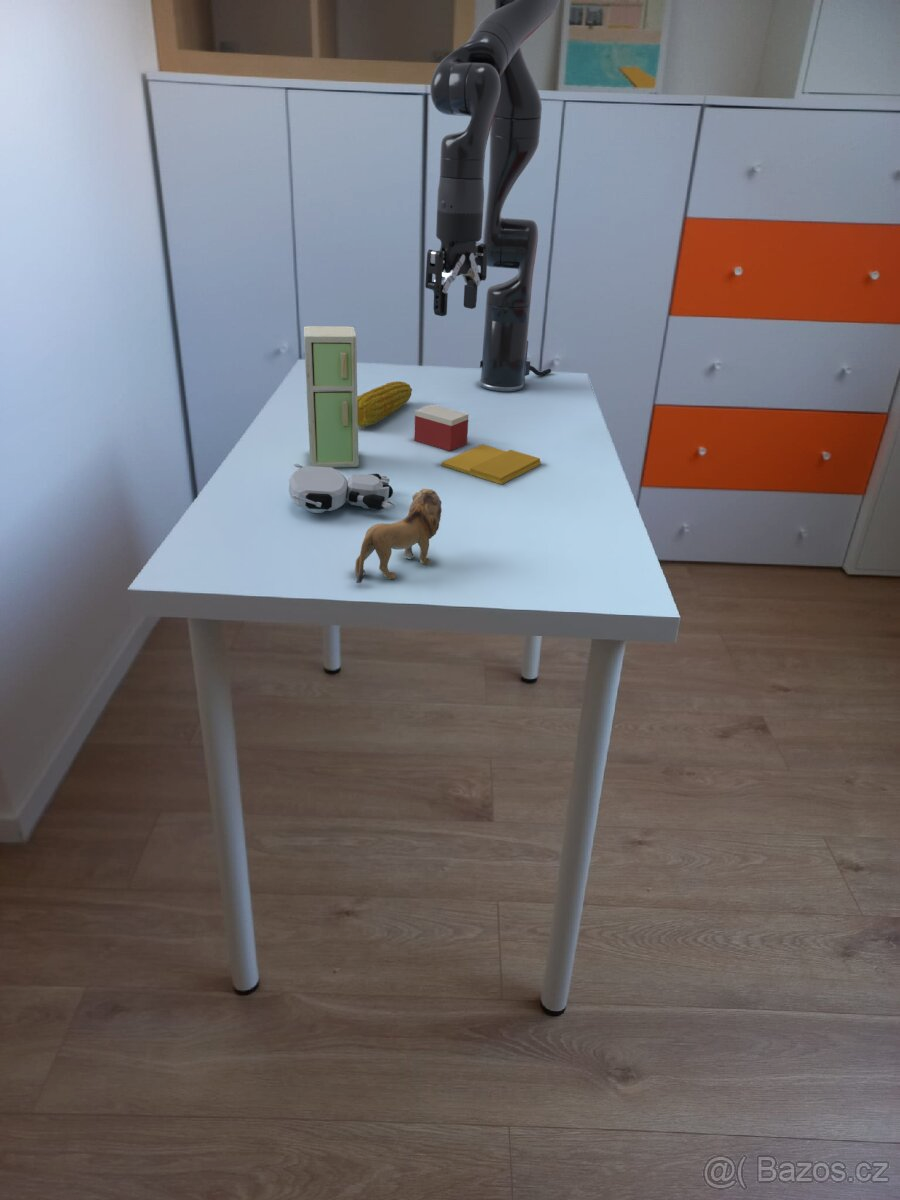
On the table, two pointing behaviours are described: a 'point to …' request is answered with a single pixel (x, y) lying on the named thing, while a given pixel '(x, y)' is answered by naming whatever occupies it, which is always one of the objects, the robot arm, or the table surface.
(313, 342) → the toy refrigerator
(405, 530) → the lion figurine
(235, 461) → the table surface
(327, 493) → the robot toy
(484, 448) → the cloth
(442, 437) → the toy cooler box
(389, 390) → the food
